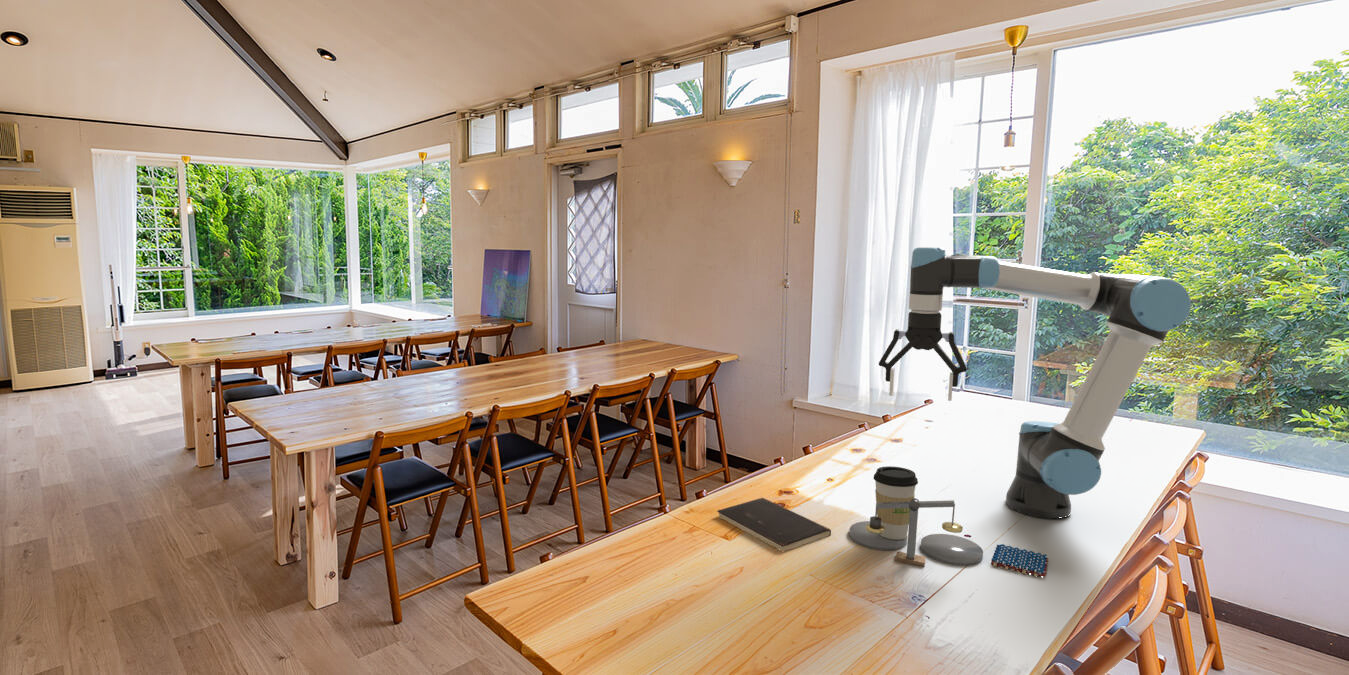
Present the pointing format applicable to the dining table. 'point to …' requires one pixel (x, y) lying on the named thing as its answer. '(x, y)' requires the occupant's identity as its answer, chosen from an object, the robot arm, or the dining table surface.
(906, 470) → the coffee cup
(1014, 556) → the woven mat
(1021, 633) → the dining table surface
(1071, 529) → the dining table surface
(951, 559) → the grey flat disc
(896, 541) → the dish low side
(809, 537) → the hardcover book
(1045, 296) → the robot arm
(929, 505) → the balance
